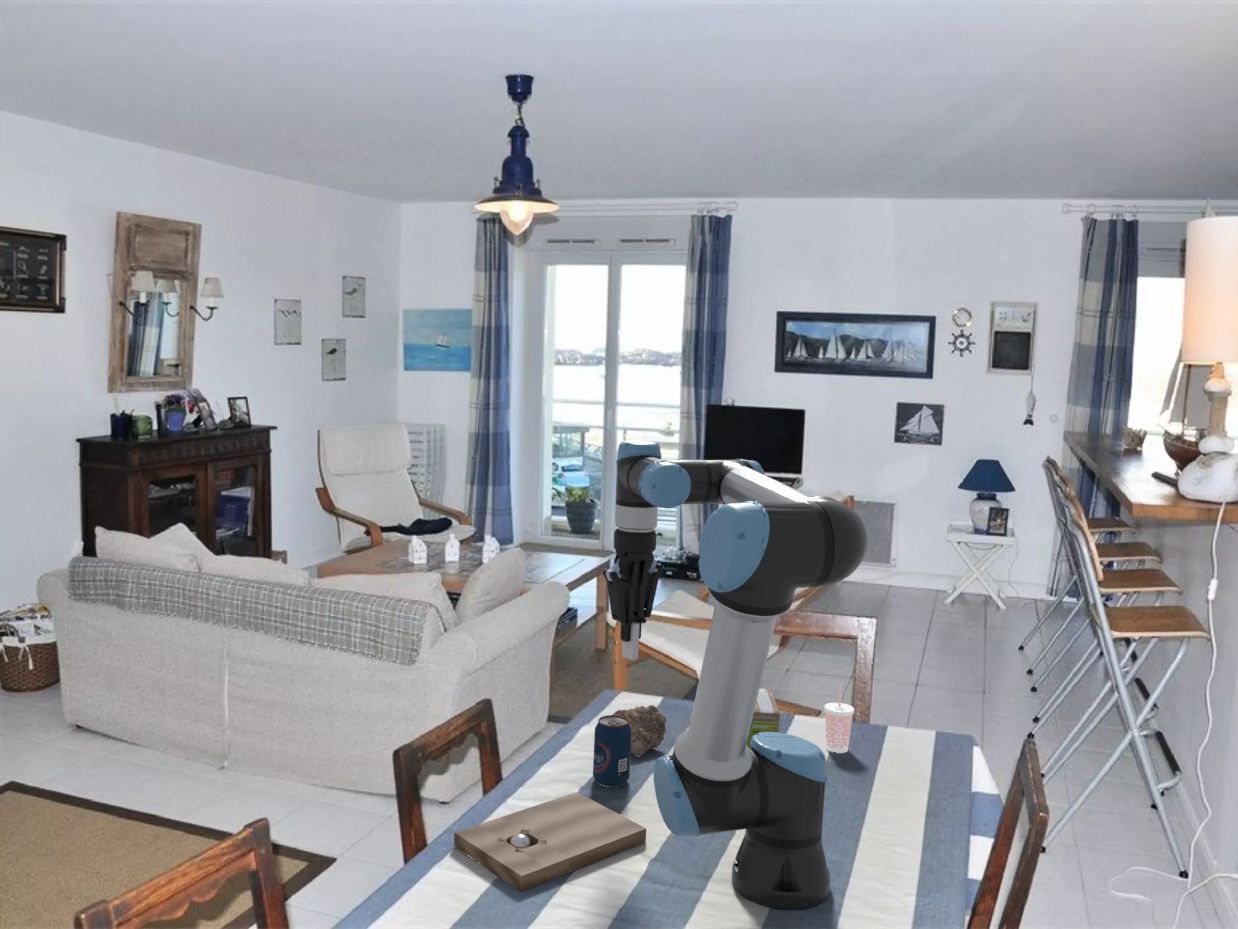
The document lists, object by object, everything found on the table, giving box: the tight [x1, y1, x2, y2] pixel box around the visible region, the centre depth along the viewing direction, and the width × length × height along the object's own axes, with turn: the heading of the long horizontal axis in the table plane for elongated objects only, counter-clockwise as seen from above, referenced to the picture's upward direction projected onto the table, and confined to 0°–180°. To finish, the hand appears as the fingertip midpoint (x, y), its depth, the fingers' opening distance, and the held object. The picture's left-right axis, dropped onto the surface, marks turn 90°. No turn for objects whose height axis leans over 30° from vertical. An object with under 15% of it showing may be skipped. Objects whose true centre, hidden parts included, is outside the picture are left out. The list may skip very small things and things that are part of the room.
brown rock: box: [611, 704, 667, 757], centre depth 221 cm, size 14×9×10 cm, turn 122°
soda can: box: [592, 714, 632, 788], centre depth 204 cm, size 7×7×12 cm
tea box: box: [746, 688, 781, 748], centre depth 212 cm, size 15×10×15 cm
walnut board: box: [453, 791, 647, 893], centre depth 178 cm, size 18×26×2 cm
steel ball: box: [509, 834, 531, 848], centre depth 174 cm, size 4×4×4 cm
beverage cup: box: [823, 683, 855, 754], centre depth 225 cm, size 6×6×14 cm
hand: (629, 657), depth 194 cm, fingers closed
